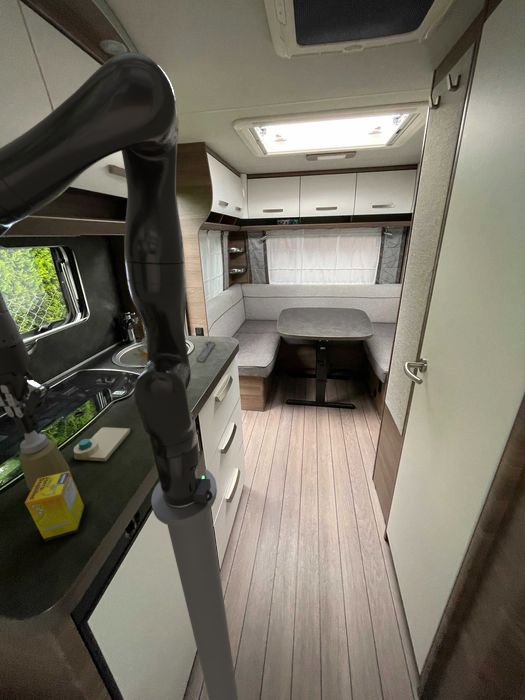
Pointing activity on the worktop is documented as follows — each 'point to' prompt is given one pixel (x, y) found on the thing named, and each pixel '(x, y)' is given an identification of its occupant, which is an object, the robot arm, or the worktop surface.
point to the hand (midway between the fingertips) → (30, 430)
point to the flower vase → (142, 353)
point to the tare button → (84, 444)
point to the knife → (206, 352)
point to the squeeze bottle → (40, 458)
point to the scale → (102, 444)
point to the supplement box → (55, 505)
